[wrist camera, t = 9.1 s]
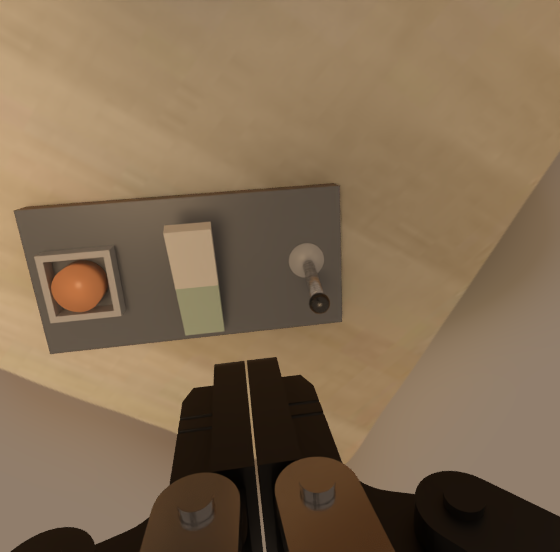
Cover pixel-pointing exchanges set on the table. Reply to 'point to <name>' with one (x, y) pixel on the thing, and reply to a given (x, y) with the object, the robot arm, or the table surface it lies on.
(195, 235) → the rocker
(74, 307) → the button
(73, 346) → the panel
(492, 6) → the table surface
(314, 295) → the lever
